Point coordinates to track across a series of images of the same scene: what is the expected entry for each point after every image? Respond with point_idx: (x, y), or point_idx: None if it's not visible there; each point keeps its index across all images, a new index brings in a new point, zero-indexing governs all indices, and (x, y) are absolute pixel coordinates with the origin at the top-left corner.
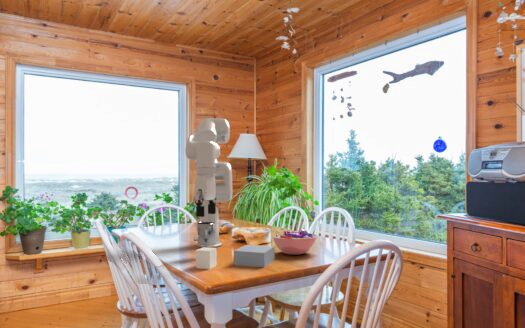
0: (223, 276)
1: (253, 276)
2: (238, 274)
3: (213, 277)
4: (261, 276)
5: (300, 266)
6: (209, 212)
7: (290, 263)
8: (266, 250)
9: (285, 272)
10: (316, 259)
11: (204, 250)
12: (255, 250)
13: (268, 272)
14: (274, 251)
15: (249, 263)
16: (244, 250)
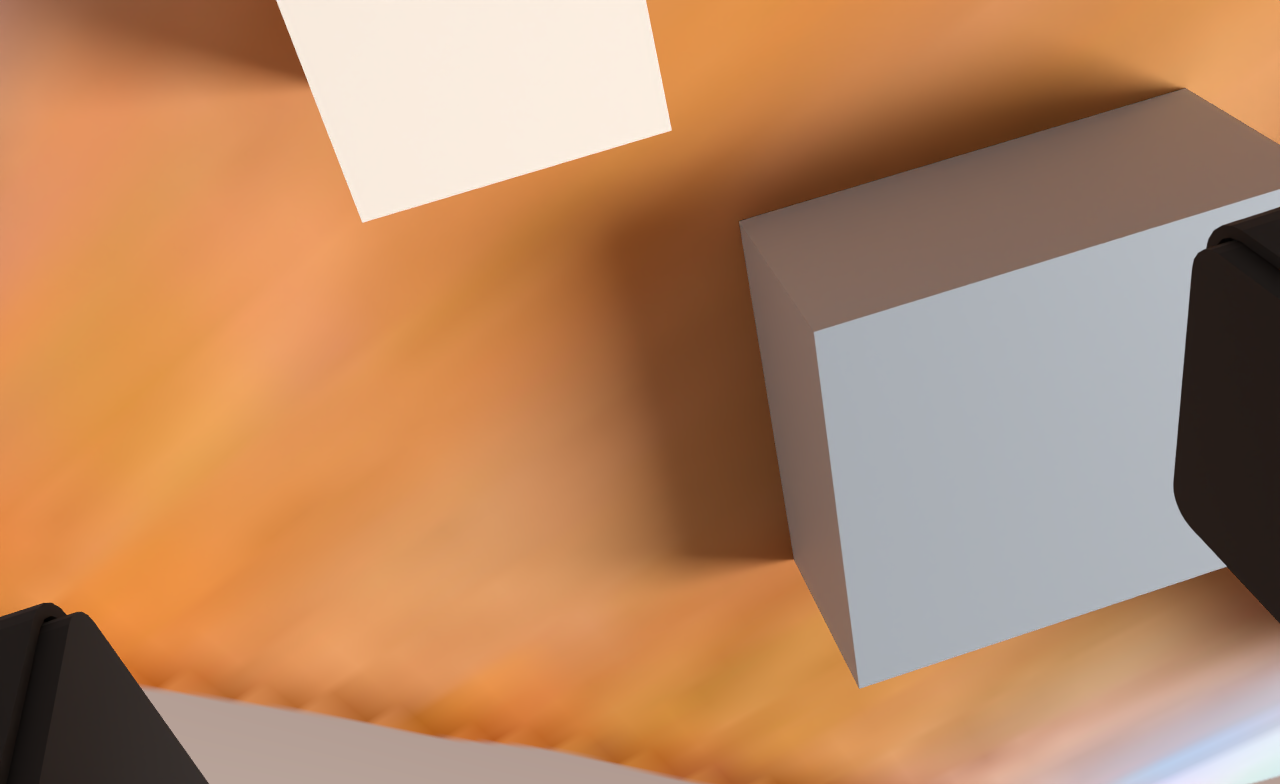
0: (189, 484)
1: (417, 687)
2: (381, 546)
3: (58, 427)
4: (466, 730)
5: (962, 743)
6: (1224, 330)
7: (1043, 634)
8: (997, 628)
9: (710, 776)
10: (1254, 697)
11: (340, 89)
12: (951, 539)
13: (632, 691)
14: None
15: (782, 434)
16: (897, 435)
